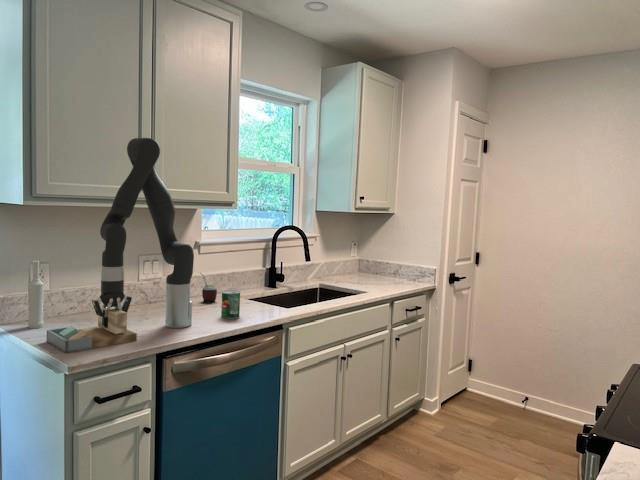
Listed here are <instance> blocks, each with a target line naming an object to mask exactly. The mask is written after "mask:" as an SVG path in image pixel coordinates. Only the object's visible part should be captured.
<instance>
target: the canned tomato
mask: <svg viewBox="0 0 640 480" xmlns="http://www.w3.org/2000/svg"><path fill="white" fill-rule="evenodd" d="M240 303H241V291H240V290H234V289H233V290H232V289H231V290H229V289H228V290H223V291H221V313H220V315H221V316H220V318H223V319H229V320H230V319H231V320H232V319H238V318H240V309H241V307H240V306H241V305H240Z"/></svg>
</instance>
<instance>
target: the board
mask: <svg viewBox="0 0 640 480" xmlns="http://www.w3.org/2000/svg"><path fill="white" fill-rule="evenodd" d="M77 331H78V333H79V332H80V331H82V332H84V333H86V334H87V335H88V337H89V336H92V349H97V348H102V347H107V346H113V345H119V344H124V343H129V342H136V341H137V339H138V337H137V335H138V333H137V332H134V331H132V330H130V329H128V328H127V332H125V333H119V334H114V333H112V332H110V331H108V330H105V329H103V328H101V327H99V326H93V327H87V328H81V329H80V328H79V329H77Z"/></svg>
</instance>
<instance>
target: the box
mask: <svg viewBox="0 0 640 480" xmlns="http://www.w3.org/2000/svg"><path fill="white" fill-rule="evenodd" d="M68 327H69V326H67V327H59V328H53V329H46V342H47V343H48V344H50V345H52V346H53V347H55V348H57V349H58V350H60V351H61V352H63V353H65V354H70V353H75V352H79V351H80V352H81V351H86V350H91V349H93V348H92V336H89V337H83V338H77V339H71V340H67V339H65V338H63V337H61V336H60V335H59V333H60V332H61V331H63V330H65V329H66V328H68Z"/></svg>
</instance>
